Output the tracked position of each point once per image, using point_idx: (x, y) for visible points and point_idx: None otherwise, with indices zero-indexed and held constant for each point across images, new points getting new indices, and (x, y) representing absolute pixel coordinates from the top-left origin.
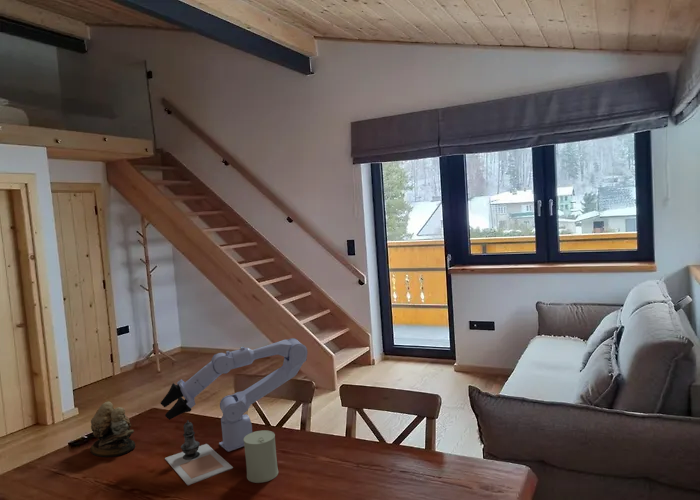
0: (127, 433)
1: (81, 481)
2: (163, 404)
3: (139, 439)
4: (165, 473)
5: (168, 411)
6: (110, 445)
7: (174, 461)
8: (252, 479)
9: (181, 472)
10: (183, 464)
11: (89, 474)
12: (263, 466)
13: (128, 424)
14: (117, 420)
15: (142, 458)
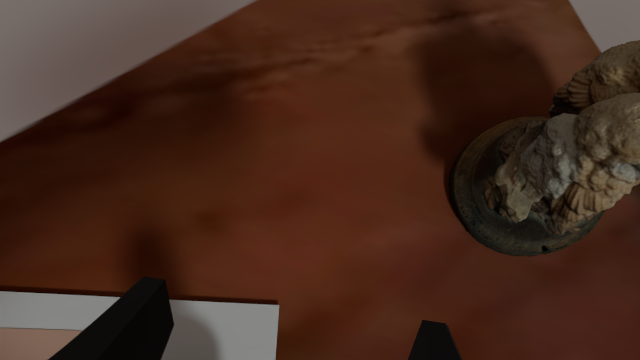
0: (505, 188)
1: (342, 33)
2: (416, 353)
3: (553, 288)
4: (130, 253)
5: (125, 317)
6: (509, 151)
7: (201, 328)
8: None
9: (48, 310)
10: None
11: (374, 64)
12: None
13: (565, 199)
14: (579, 127)
15: (361, 233)
